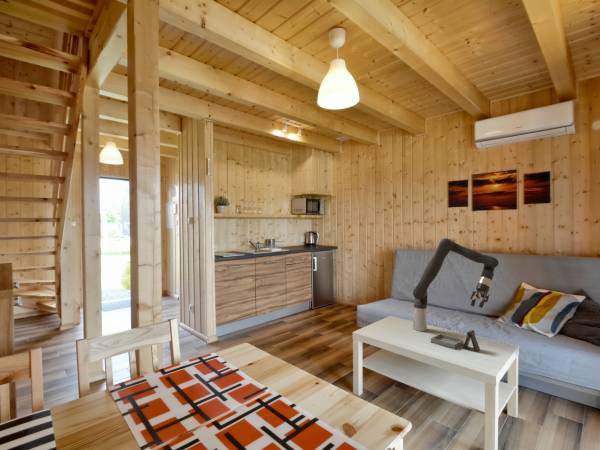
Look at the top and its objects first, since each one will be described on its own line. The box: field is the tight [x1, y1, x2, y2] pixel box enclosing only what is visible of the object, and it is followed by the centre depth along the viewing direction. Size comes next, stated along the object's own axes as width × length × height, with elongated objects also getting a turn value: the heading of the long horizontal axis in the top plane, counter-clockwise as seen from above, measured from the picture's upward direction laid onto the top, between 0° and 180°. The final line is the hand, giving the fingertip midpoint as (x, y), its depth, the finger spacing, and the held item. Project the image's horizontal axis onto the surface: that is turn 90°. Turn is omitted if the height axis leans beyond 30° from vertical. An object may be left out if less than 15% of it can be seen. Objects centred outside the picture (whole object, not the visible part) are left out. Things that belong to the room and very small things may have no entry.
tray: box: [430, 333, 465, 350], centre depth 213 cm, size 16×14×3 cm
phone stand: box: [462, 329, 481, 353], centre depth 202 cm, size 9×6×12 cm, turn 46°
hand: (476, 306), depth 212 cm, fingers open, 8 cm apart
